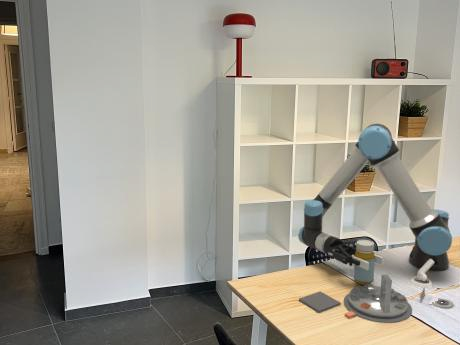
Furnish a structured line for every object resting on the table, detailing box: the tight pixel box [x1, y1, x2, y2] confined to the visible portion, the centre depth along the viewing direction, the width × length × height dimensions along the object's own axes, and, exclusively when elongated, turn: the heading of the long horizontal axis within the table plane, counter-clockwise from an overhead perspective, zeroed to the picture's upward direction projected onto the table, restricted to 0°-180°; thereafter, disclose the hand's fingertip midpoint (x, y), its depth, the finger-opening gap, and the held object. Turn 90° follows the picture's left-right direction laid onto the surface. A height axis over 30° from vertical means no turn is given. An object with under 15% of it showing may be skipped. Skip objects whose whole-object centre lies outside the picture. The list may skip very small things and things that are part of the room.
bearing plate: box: [343, 293, 413, 324], centre depth 151 cm, size 22×22×1 cm
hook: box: [410, 259, 434, 289], centre depth 166 cm, size 8×12×7 cm
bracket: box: [419, 288, 455, 309], centre depth 152 cm, size 7×10×4 cm, turn 57°
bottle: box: [353, 239, 376, 286], centre depth 164 cm, size 7×7×15 cm
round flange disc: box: [348, 274, 409, 319], centre depth 149 cm, size 19×19×13 cm
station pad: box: [298, 290, 342, 314], centre depth 153 cm, size 10×10×1 cm
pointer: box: [344, 311, 357, 320], centre depth 144 cm, size 3×2×1 cm, turn 122°
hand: (375, 263), depth 160 cm, fingers closed on bottle, 7 cm apart
